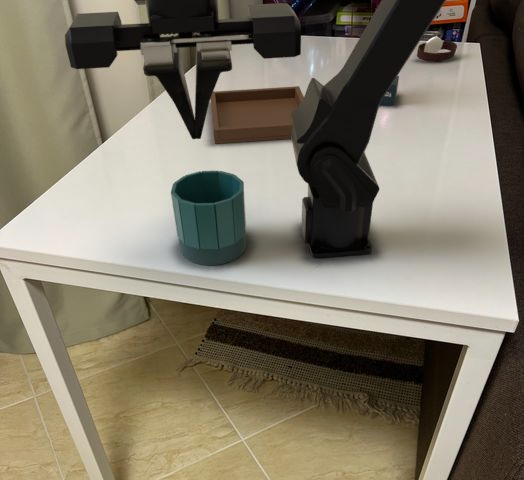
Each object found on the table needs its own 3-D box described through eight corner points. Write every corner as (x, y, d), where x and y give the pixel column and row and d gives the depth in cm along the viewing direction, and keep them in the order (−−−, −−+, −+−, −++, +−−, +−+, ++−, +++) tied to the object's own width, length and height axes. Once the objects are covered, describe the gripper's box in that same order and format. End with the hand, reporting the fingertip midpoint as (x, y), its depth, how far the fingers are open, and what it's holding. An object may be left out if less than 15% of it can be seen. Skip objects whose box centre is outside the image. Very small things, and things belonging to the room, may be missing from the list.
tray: (298, 98, 91) (299, 86, 90) (314, 137, 80) (315, 123, 78) (211, 104, 90) (209, 91, 89) (214, 143, 79) (213, 130, 77)
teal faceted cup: (227, 222, 63) (258, 252, 59) (170, 240, 61) (197, 273, 56) (223, 164, 58) (256, 192, 54) (160, 181, 56) (189, 212, 51)
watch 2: (447, 53, 106) (451, 32, 104) (460, 60, 103) (464, 38, 101) (411, 57, 105) (414, 36, 103) (422, 64, 102) (426, 43, 99)
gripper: (284, -89, 47) (284, 100, 58) (64, -79, 46) (105, 111, 57) (304, -71, 39) (299, 144, 50) (37, -59, 38) (92, 158, 49)
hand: (196, 137), depth 51 cm, fingers closed
